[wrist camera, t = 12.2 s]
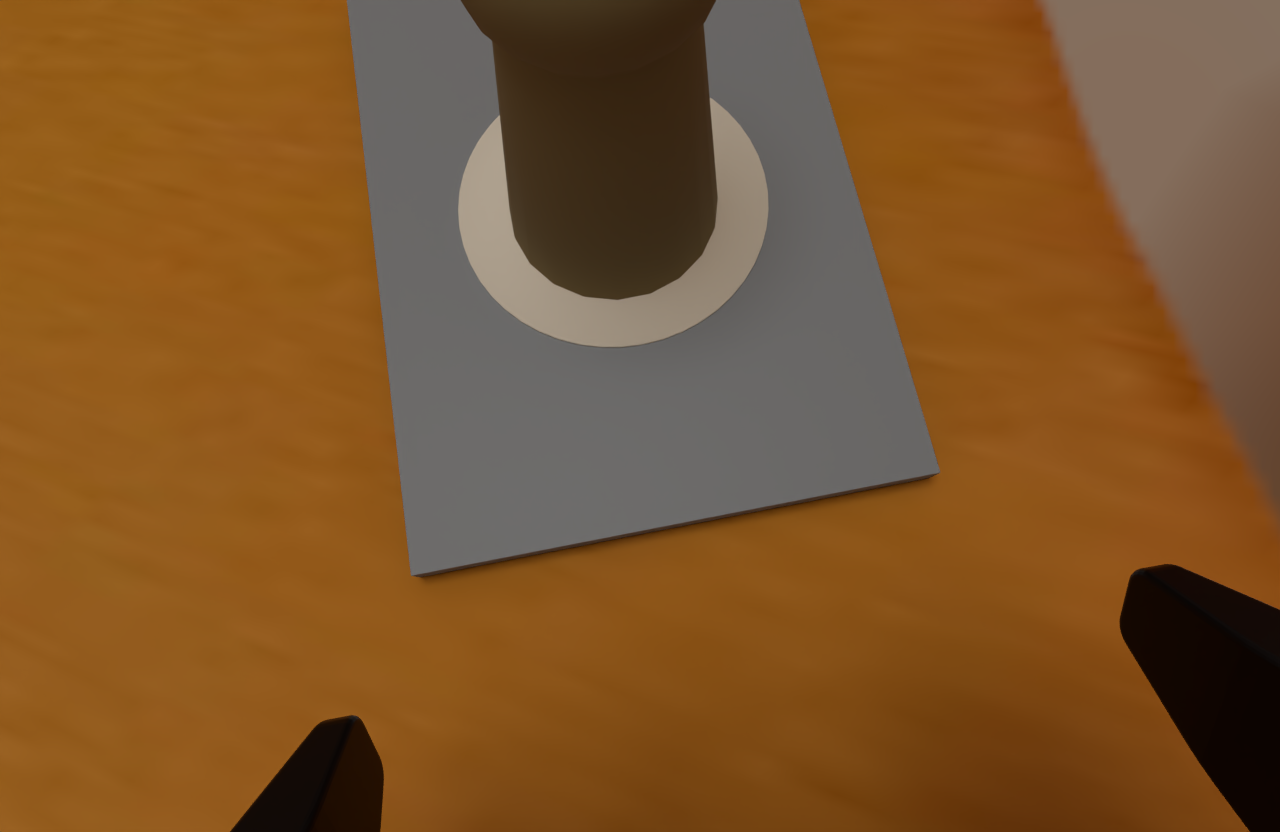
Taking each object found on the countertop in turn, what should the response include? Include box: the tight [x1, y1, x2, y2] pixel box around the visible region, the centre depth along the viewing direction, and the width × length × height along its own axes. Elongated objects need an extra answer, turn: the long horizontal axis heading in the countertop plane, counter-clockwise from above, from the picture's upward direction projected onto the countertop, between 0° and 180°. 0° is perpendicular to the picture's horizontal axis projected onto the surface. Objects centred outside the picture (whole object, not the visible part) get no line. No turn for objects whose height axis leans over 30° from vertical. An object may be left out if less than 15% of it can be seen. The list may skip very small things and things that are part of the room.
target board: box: [347, 0, 940, 577], centre depth 22 cm, size 19×14×1 cm
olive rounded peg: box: [461, 0, 718, 300], centre depth 16 cm, size 6×6×11 cm
